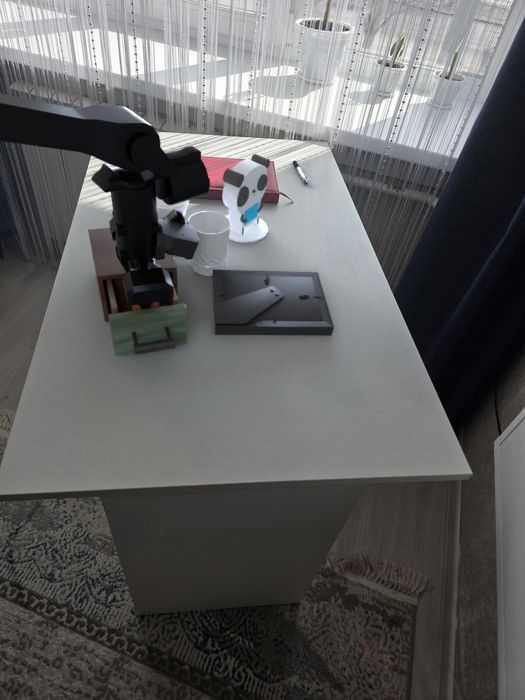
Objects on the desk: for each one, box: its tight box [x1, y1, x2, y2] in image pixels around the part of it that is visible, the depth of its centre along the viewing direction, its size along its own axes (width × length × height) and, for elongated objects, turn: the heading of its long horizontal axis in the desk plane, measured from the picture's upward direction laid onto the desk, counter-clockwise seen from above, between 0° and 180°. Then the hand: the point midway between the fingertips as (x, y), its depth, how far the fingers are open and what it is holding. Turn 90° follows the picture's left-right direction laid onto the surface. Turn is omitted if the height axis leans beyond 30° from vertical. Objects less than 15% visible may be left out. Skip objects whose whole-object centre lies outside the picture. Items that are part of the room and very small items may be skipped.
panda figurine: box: [222, 153, 271, 244], centre depth 99 cm, size 12×11×15 cm
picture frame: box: [211, 269, 335, 337], centre depth 86 cm, size 16×3×21 cm
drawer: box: [106, 272, 188, 357], centre depth 75 cm, size 17×11×8 cm
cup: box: [156, 197, 190, 220], centre depth 96 cm, size 10×10×9 cm
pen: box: [292, 158, 309, 185], centre depth 126 cm, size 14×2×1 cm, turn 12°
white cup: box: [187, 210, 231, 277], centre depth 90 cm, size 8×8×10 cm
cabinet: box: [87, 227, 179, 323], centre depth 82 cm, size 14×13×10 cm
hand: (143, 300), depth 74 cm, fingers closed on block, 4 cm apart
